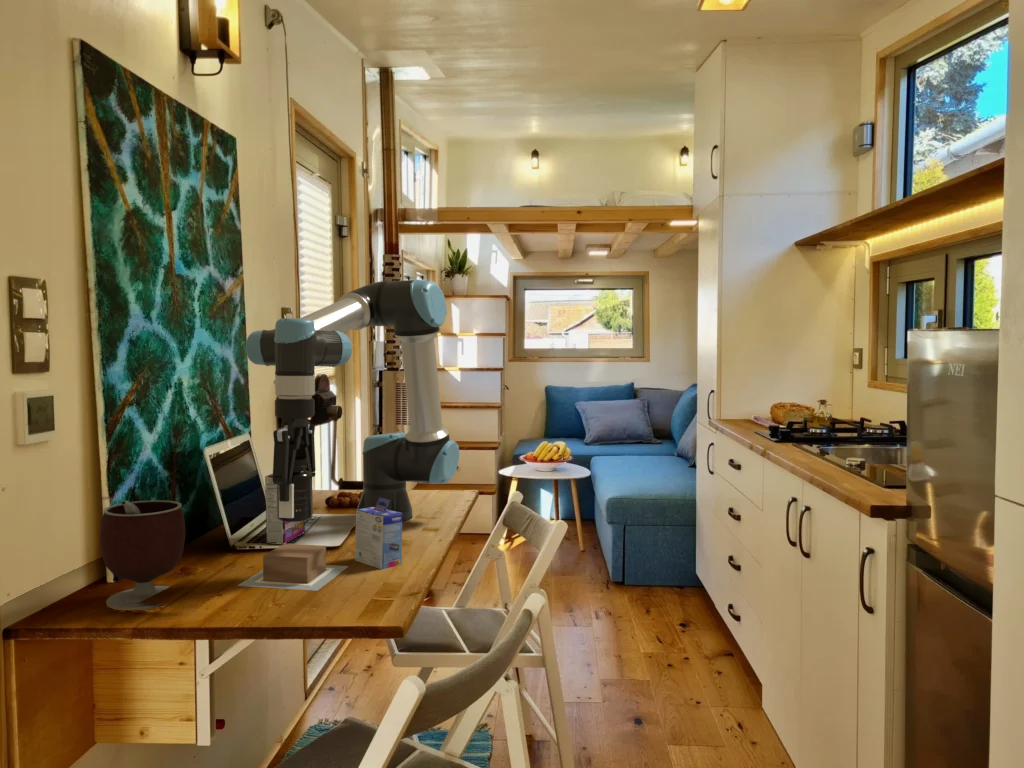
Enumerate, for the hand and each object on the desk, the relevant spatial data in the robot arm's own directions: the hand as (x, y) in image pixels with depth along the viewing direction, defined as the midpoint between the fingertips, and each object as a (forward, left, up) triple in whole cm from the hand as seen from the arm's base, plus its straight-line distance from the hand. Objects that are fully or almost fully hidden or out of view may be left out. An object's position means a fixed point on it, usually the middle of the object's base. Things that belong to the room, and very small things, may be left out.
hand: (295, 513), depth 148 cm
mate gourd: (+16, -22, -14) cm, 31 cm away
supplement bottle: (0, 0, -1) cm, 1 cm away
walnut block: (0, 0, -13) cm, 13 cm away
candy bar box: (-31, -17, -14) cm, 38 cm away
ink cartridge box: (-12, +13, -14) cm, 23 cm away
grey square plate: (0, 0, -14) cm, 14 cm away
